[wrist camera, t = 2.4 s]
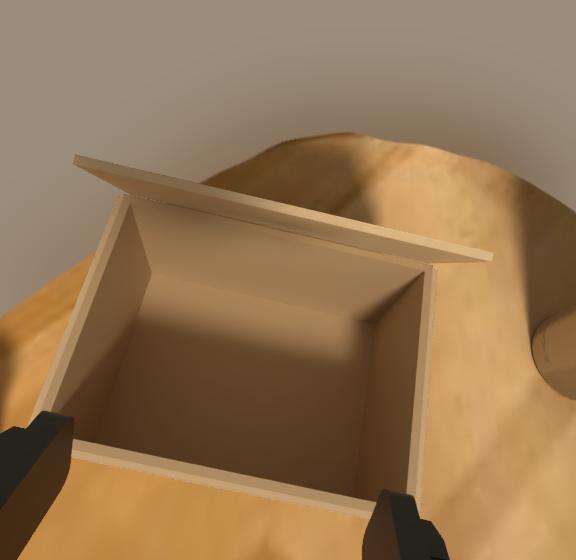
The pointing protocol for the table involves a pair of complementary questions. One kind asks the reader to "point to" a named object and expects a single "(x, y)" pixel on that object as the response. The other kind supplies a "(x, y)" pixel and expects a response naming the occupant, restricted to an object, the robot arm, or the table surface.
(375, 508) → the robot arm
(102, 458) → the carton
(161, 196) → the carton flap
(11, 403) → the table surface
